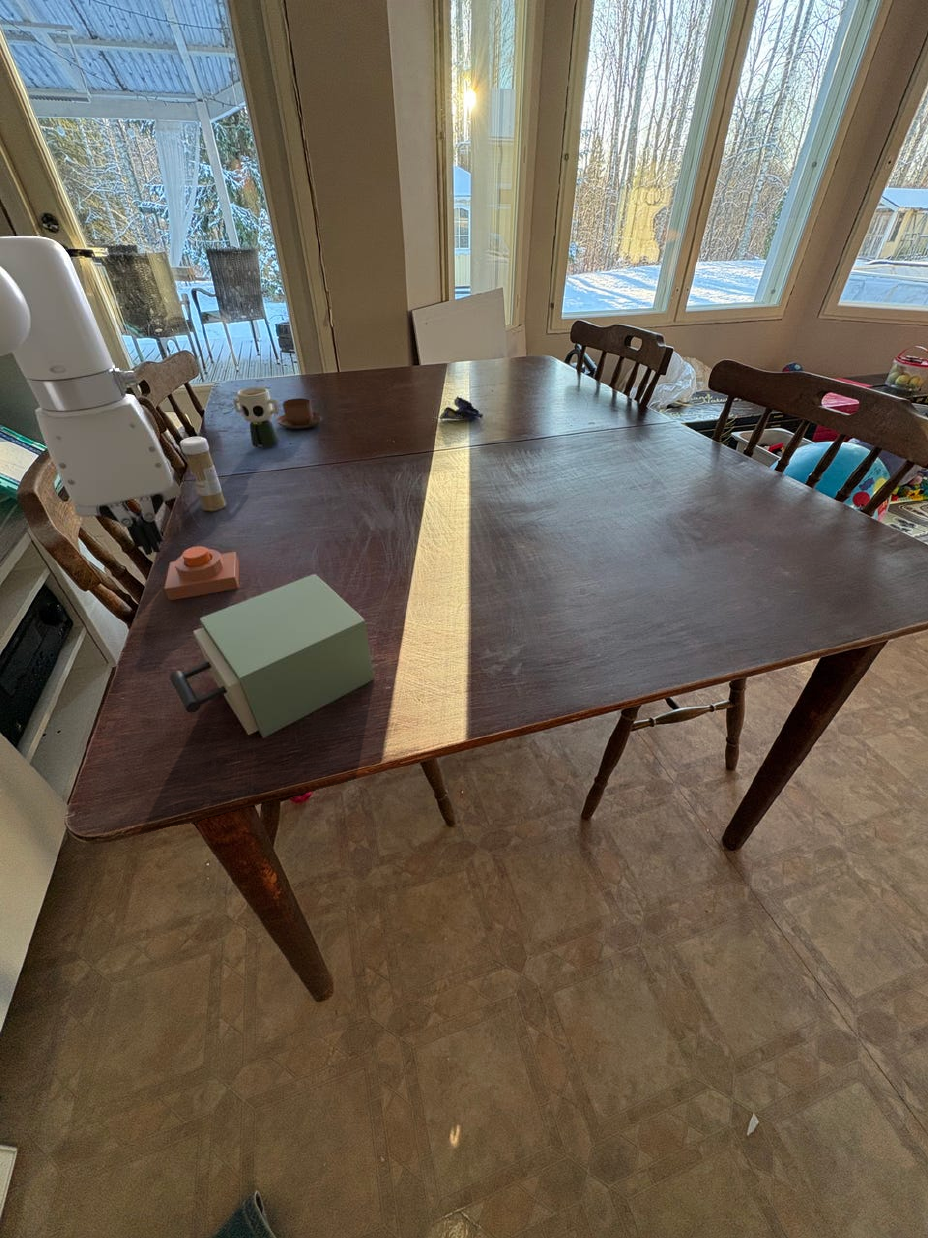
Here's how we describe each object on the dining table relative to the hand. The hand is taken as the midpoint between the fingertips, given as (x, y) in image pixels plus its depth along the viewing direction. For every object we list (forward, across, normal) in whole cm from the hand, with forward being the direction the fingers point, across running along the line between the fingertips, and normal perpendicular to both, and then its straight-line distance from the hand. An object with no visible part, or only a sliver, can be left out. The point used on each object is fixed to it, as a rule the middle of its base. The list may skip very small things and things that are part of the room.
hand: (152, 548), depth 63 cm
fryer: (+14, -10, +16) cm, 24 cm away
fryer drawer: (+13, -7, +17) cm, 22 cm away
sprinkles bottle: (+15, -10, -40) cm, 44 cm away
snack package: (+15, -81, -62) cm, 103 cm away
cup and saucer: (+15, -40, -80) cm, 91 cm away
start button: (+11, -4, -13) cm, 17 cm away
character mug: (+15, -27, -70) cm, 77 cm away
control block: (+14, -4, -13) cm, 20 cm away
